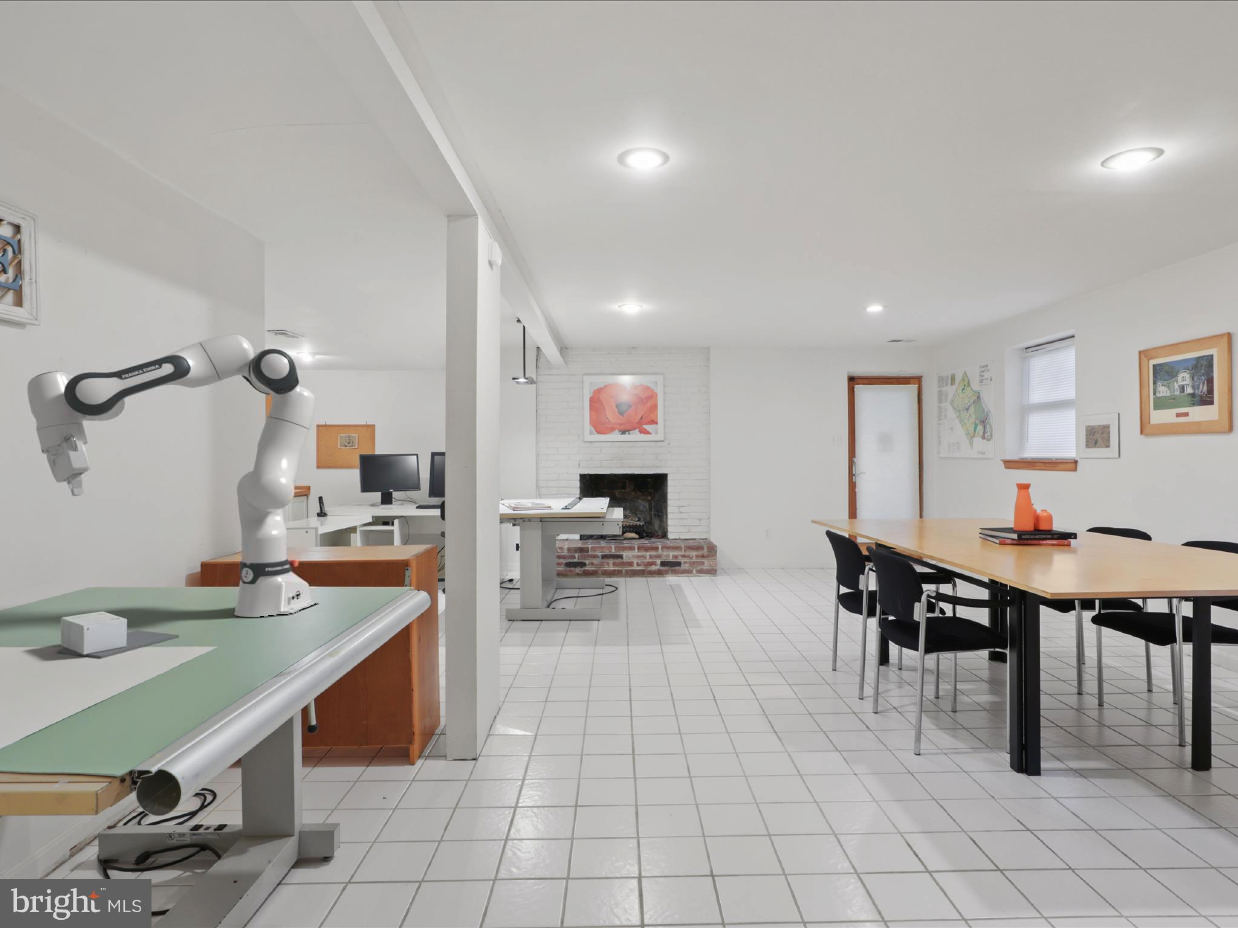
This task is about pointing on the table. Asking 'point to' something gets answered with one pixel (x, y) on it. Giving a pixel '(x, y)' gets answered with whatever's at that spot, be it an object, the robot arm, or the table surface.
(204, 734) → the table surface
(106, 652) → the mat
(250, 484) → the robot arm
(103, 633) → the small box
